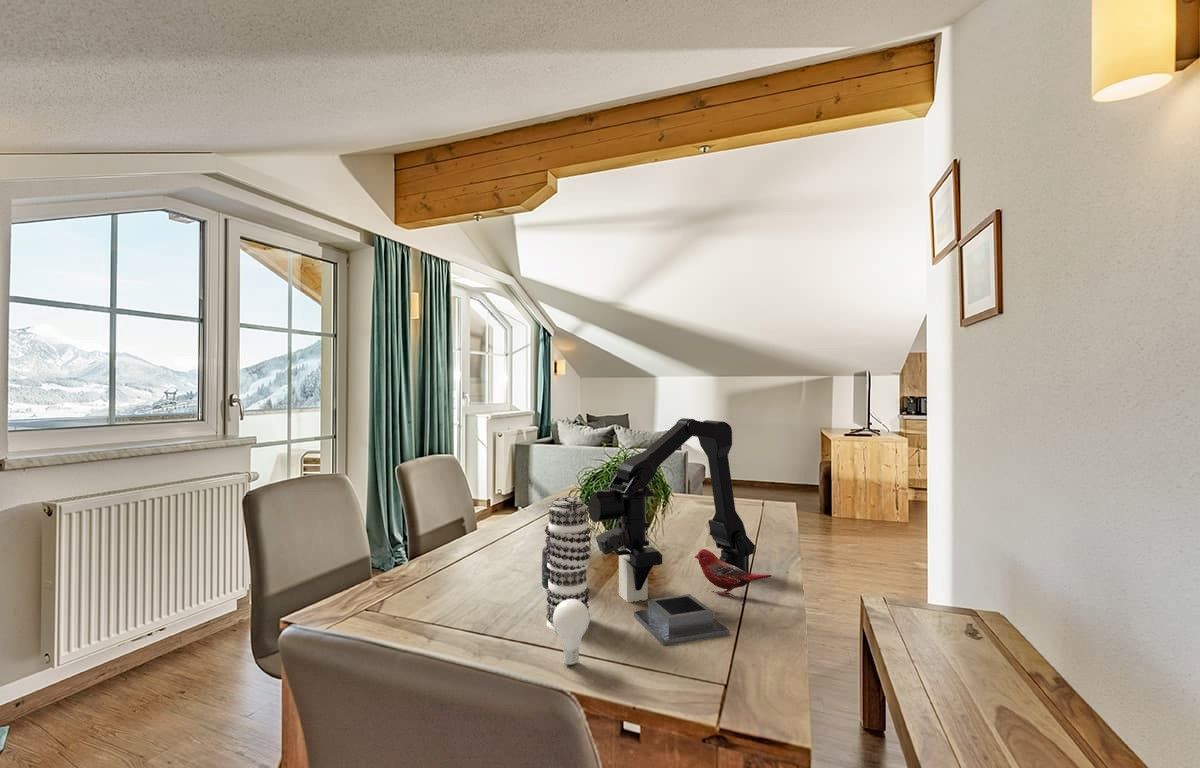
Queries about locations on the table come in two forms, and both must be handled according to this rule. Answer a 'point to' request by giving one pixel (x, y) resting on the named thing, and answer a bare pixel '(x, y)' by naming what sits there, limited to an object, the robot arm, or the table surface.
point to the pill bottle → (545, 568)
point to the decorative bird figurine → (724, 573)
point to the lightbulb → (571, 627)
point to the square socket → (679, 620)
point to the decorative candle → (566, 553)
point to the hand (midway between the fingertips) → (633, 585)
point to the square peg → (630, 582)
